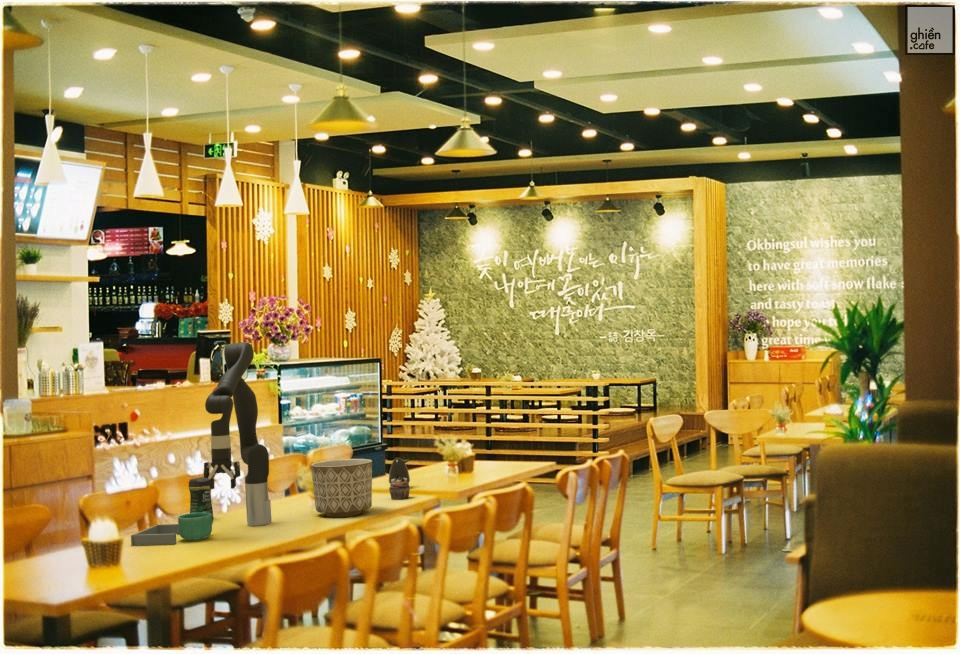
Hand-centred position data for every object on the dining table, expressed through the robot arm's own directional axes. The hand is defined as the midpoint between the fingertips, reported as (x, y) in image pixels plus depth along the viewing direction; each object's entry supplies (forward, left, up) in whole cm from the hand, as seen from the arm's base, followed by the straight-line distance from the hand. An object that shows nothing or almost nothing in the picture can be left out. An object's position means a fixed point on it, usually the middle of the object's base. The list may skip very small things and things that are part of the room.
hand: (222, 488), depth 447 cm
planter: (-35, -48, -19) cm, 62 cm away
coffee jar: (+26, -42, -19) cm, 53 cm away
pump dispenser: (-44, -119, -19) cm, 129 cm away
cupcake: (-51, -87, -19) cm, 103 cm away
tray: (+24, +1, -19) cm, 30 cm away
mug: (+10, +1, -19) cm, 22 cm away
